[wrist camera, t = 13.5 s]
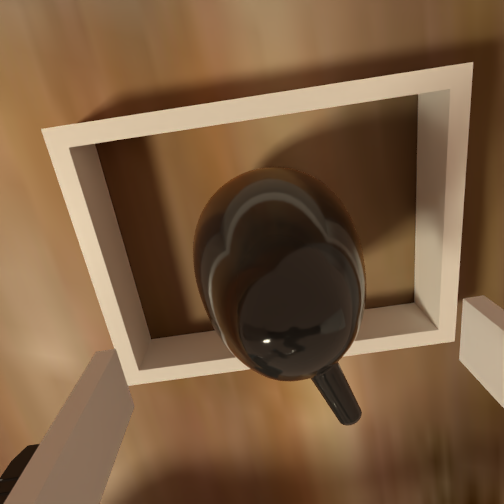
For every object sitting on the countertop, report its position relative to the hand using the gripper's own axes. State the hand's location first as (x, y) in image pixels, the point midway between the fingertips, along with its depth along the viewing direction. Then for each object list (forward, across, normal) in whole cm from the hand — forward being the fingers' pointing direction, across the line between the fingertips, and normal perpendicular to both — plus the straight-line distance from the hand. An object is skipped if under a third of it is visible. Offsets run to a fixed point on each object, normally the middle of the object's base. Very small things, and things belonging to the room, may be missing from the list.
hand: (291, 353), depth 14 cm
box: (+15, 0, 0) cm, 15 cm away
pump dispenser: (+15, 0, 0) cm, 15 cm away
